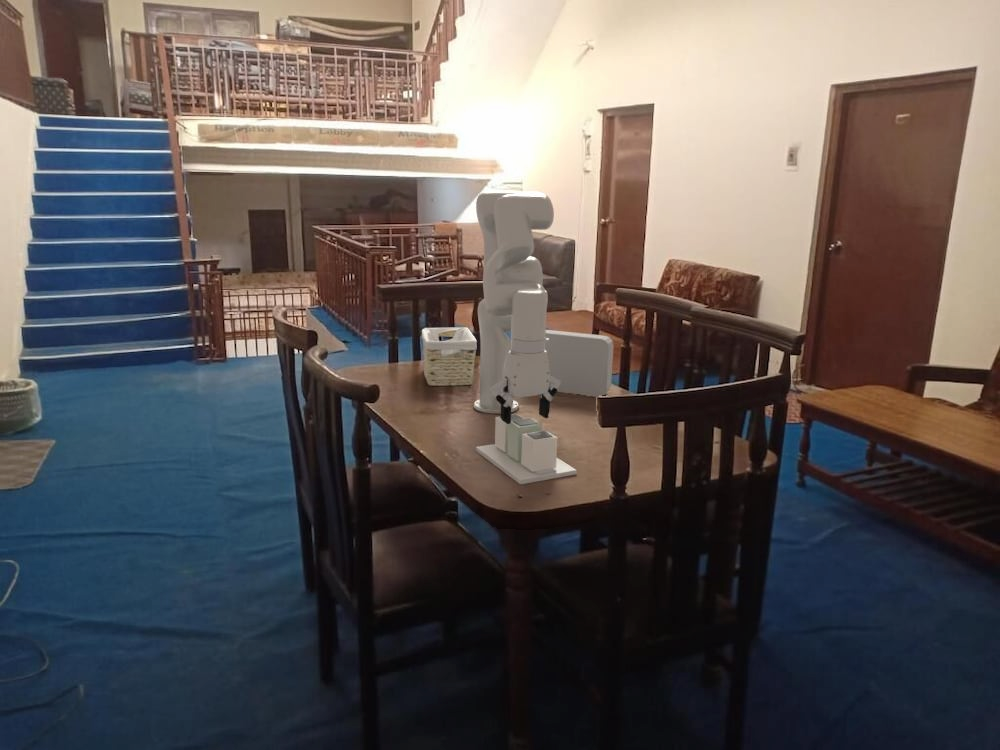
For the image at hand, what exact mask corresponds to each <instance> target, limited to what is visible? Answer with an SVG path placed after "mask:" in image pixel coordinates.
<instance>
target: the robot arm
mask: <svg viewBox="0 0 1000 750" xmlns="http://www.w3.org/2000/svg"><path fill="white" fill-rule="evenodd" d="M476 198H477V199H476V201H475V204H476V207H475V209H476V217H477V221H478V224H479V227H480V231H481V233H482V237H483V275H482V287H483V299H482V300H481V301H479V303H478V305H477V317H478V318H477V319H478V324H479V325H478V326H479V339H480V343H479V344H480V356H479V361H480V362H479V389H478V391H477V392H478V393H479V399H477V400H475V401H474V403H473V407H474V409H475V410H477V411H479V412H482V413H485V414H486V413H487V414H496V415H497V414H498V415H499V414H500V416H501V419H502V421H504V422H505V423H507V424H510V423H511V415H512V413H513V412H516V411H518V410H519V406H520V405H519V403H518V401H516V400H514V399H519V398H528V397H533V396H540V398H539V402H538V403H539V406H538V415H539V416H541V417H543V418H544V419H549V415H550V414H549V413H550V412H551V411H550V408H551V407H550V406H551V405H550V404H551V401H552V400H553V397H554V396H555V395H556V394H557V393H558V392H557V389H558V387H559V385H560V383H561V381H560V380H559V379H557V378H555V377H552V376H550V375H549V361H548V355H547V351H546V350H545V345H547V344H549V343H550V340H549V339H546V337H545V333H546V330H547V326H546V325H547V310H548V309H547V308H548V303H549V302H548V301H549V300H548V299H549V296H548V291H547V290H546V289H545V287H544V286H543V281H544V280H543V277H544V276H543V267H542V264H541V262H540V260H539V259H538V258H536V257H534V256H532V255H533V253H534V250H535V243H534V239H533V230H535V231H536V230H538V231H540V230H541V231H542V230H543V231H545V230H549V229H550V228H551V227H552V225H553V223H554V215H555V211H554V205H553V202H552V200H551V198H550V197H549V196H548V195H547V194H545V193H544V192H543V193H542V192H539V191H528V190H527V191H521V190H518V191H517V190H488V191H483V192H482V193H481V192H480V194H479V195H478V196H477V197H476ZM507 332H510V338H509V336H508V335H507V334H506V333H507ZM549 381H550V382H552V385H551V387H550V388H549Z"/></svg>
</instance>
